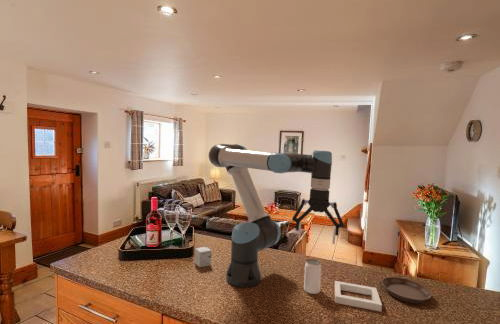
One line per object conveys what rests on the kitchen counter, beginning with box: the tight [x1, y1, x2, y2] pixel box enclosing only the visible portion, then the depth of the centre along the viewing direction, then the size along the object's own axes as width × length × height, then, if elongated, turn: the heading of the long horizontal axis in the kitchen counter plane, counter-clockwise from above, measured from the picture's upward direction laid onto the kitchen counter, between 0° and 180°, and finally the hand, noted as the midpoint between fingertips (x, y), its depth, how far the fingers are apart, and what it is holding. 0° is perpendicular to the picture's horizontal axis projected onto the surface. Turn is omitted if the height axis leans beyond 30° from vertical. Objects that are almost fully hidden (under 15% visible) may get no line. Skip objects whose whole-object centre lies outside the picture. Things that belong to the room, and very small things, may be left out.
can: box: [303, 258, 322, 295], centre depth 110 cm, size 6×6×12 cm
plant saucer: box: [381, 276, 432, 304], centre depth 112 cm, size 18×18×3 cm
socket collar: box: [334, 280, 383, 313], centre depth 106 cm, size 16×13×2 cm
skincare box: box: [194, 246, 212, 268], centre depth 131 cm, size 6×6×7 cm
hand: (316, 240), depth 110 cm, fingers open, 13 cm apart
